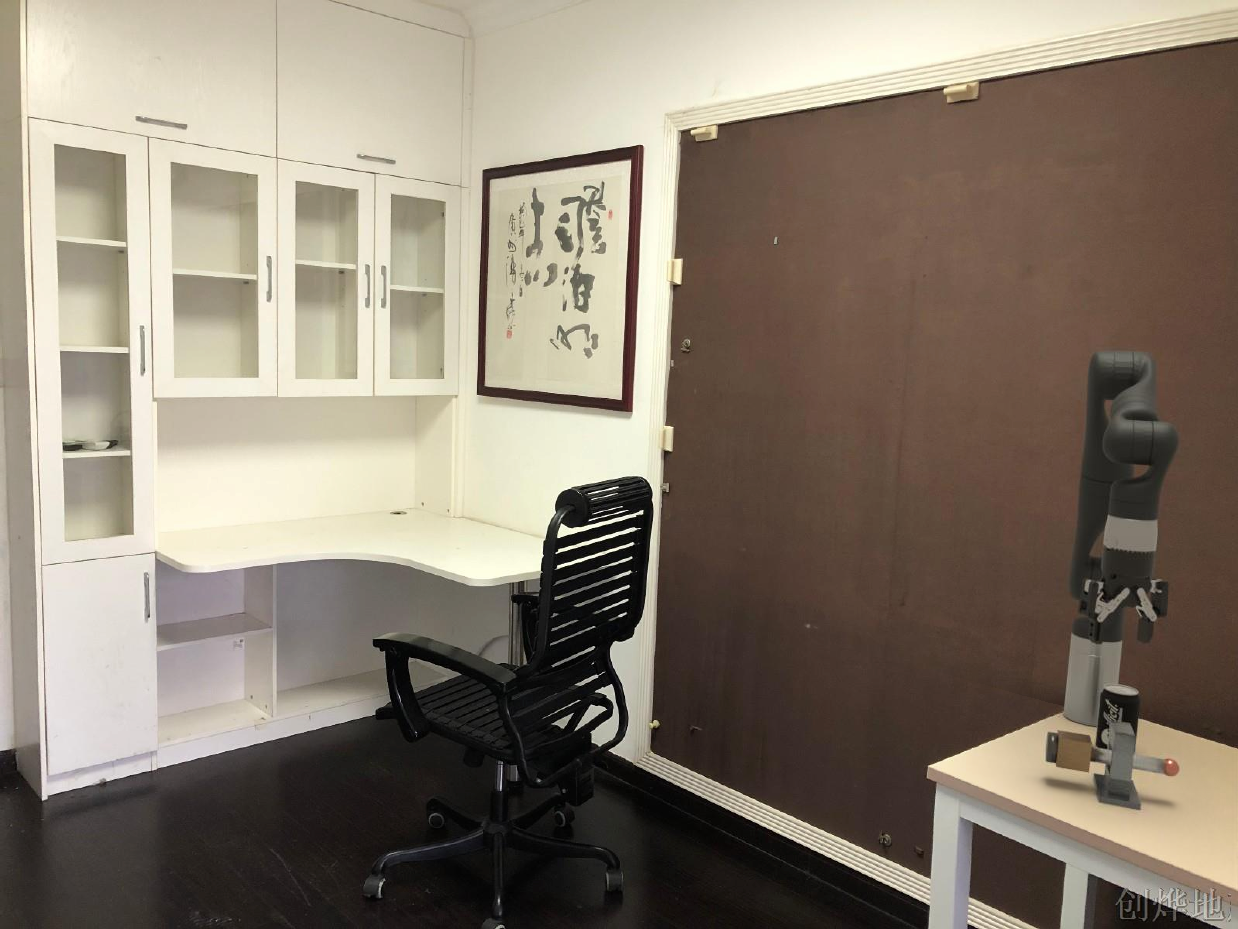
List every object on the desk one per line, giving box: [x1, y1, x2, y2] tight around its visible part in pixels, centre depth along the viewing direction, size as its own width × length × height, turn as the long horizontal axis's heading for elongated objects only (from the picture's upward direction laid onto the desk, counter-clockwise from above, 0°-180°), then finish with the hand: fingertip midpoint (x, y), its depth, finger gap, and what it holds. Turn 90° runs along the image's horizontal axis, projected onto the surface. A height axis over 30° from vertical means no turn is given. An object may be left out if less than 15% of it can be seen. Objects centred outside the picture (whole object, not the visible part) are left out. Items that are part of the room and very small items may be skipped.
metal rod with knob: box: [1045, 730, 1180, 778], centre depth 160 cm, size 20×5×5 cm, turn 69°
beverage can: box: [1095, 683, 1141, 754], centre depth 178 cm, size 7×7×12 cm
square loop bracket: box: [1092, 720, 1142, 811], centre depth 160 cm, size 10×6×11 cm, turn 159°
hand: (1119, 642), depth 157 cm, fingers open, 8 cm apart
